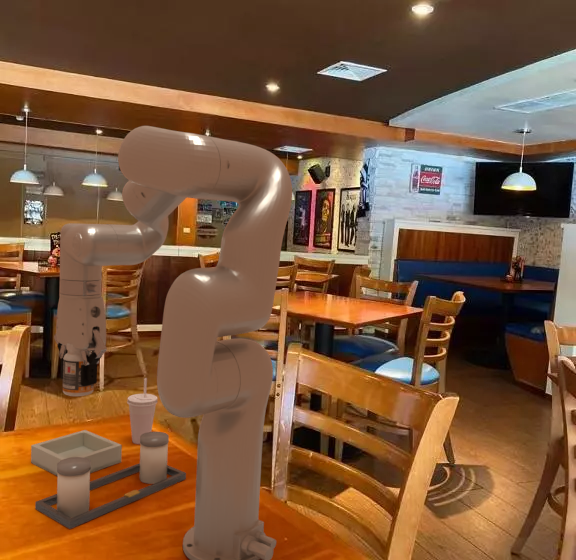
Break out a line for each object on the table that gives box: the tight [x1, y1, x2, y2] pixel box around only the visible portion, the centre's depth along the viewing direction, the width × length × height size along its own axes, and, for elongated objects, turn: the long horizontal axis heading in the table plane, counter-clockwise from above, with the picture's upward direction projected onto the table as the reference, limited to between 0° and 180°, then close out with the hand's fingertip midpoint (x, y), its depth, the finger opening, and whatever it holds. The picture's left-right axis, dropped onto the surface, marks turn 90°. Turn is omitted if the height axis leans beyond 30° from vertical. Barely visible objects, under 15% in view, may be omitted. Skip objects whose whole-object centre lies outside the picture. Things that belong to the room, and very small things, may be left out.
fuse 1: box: [56, 457, 91, 518], centre depth 97 cm, size 5×5×8 cm
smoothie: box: [126, 377, 158, 445], centre depth 128 cm, size 6×6×14 cm
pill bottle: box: [62, 343, 95, 397], centre depth 114 cm, size 6×6×10 cm
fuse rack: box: [34, 462, 187, 530], centre depth 104 cm, size 10×25×1 cm, turn 144°
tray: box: [30, 429, 123, 477], centre depth 116 cm, size 12×12×4 cm
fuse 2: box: [138, 431, 170, 485], centre depth 111 cm, size 5×5×8 cm
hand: (78, 380), depth 114 cm, fingers closed on pill bottle, 5 cm apart
